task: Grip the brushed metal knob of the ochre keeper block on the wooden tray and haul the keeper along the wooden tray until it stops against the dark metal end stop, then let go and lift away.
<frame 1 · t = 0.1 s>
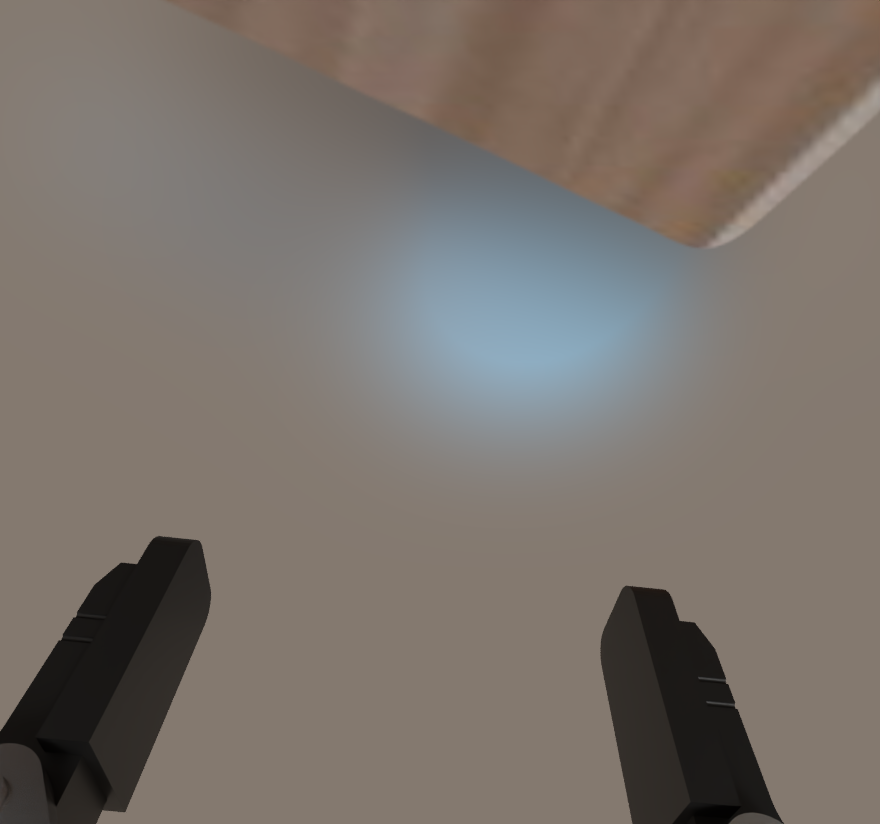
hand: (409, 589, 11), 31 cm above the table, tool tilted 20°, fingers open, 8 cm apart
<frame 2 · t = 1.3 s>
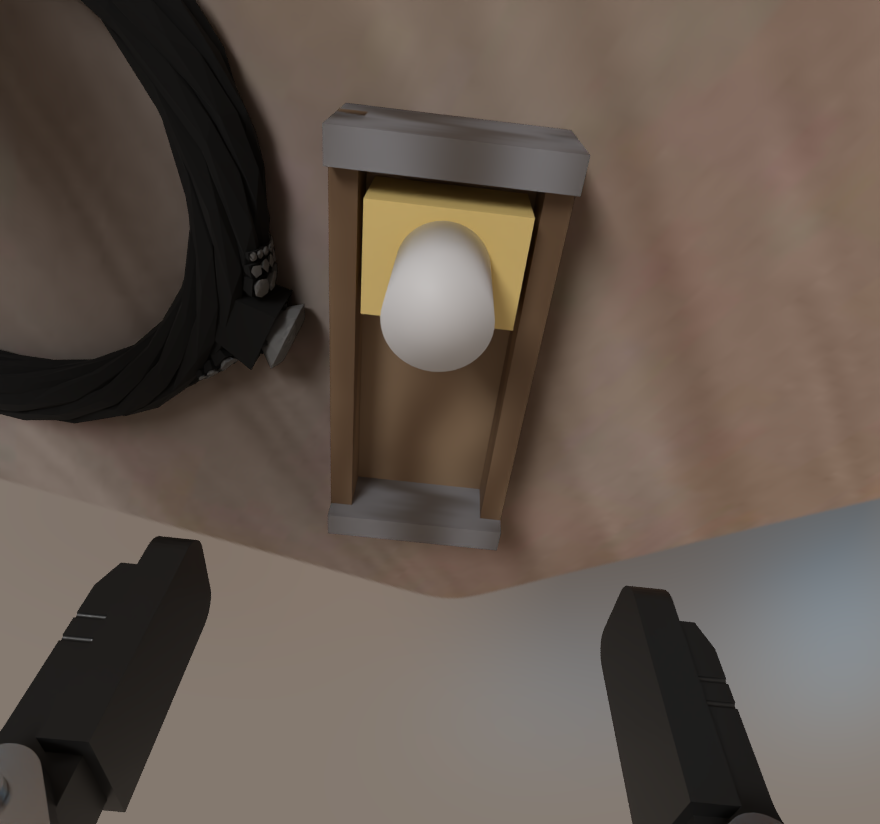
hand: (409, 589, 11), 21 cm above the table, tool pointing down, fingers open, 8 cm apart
keeper: (442, 275, 24), point 6 cm above the table, slide at 0.0 cm
wooden tray: (434, 337, 32), on the table
cable lock: (21, 175, 29), on the table
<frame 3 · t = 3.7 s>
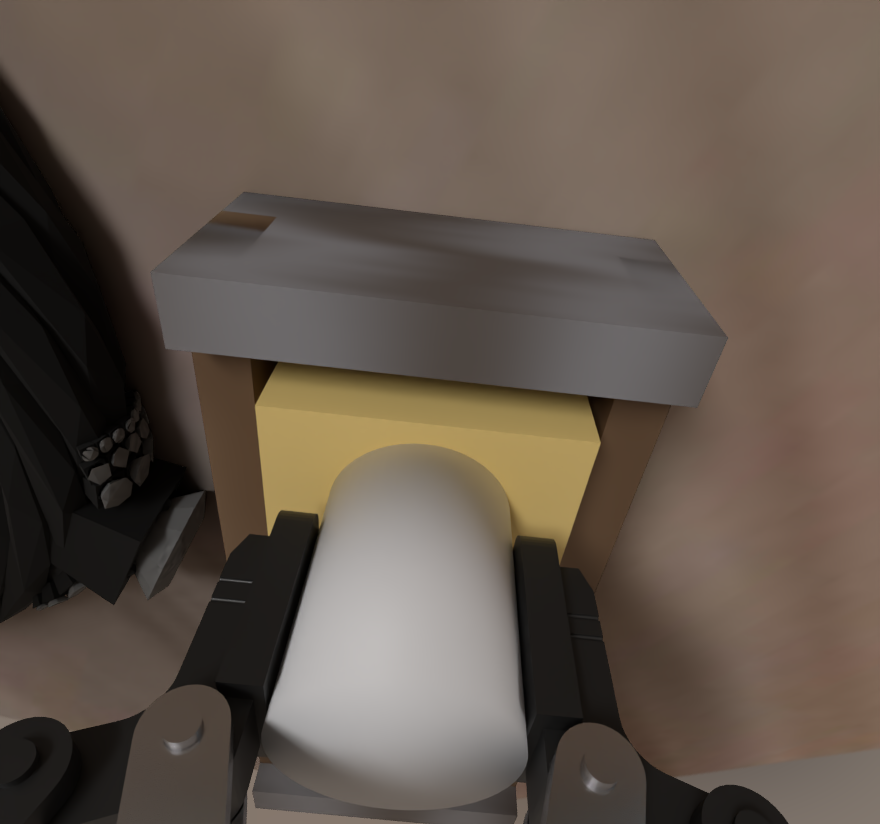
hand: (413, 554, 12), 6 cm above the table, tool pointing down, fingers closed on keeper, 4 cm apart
keeper: (416, 540, 12), point 6 cm above the table, slide at 0.0 cm, touching gripper
wooden tray: (415, 530, 20), on the table
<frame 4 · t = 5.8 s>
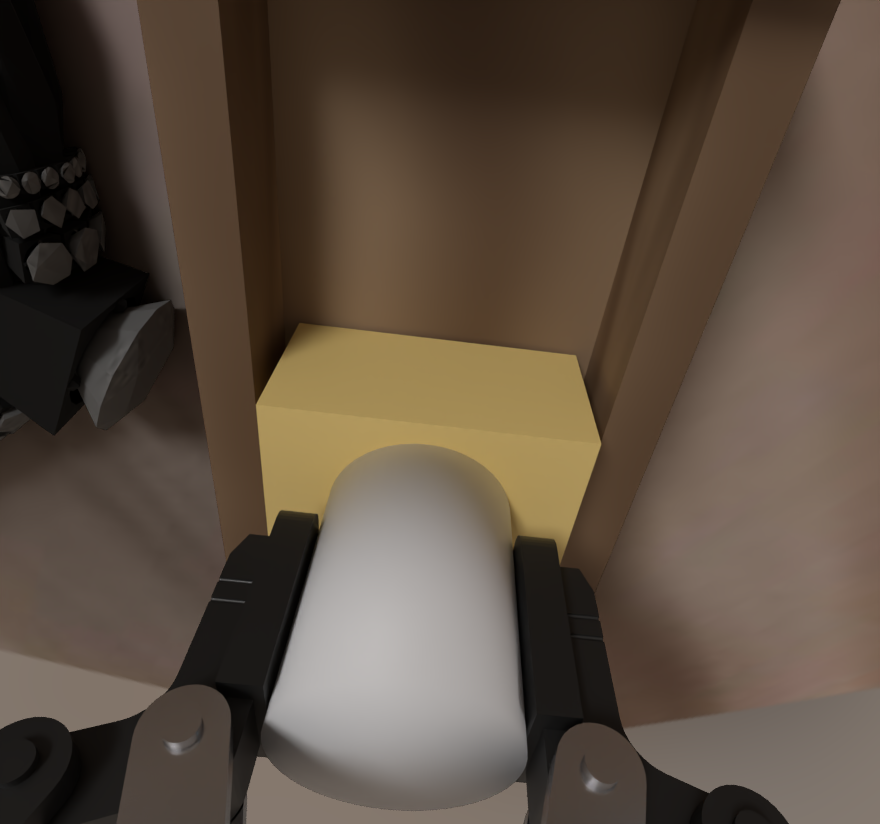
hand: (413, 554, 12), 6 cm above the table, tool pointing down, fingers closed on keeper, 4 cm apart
keeper: (416, 540, 12), point 6 cm above the table, slide at 6.8 cm, touching gripper
wooden tray: (434, 366, 17), on the table
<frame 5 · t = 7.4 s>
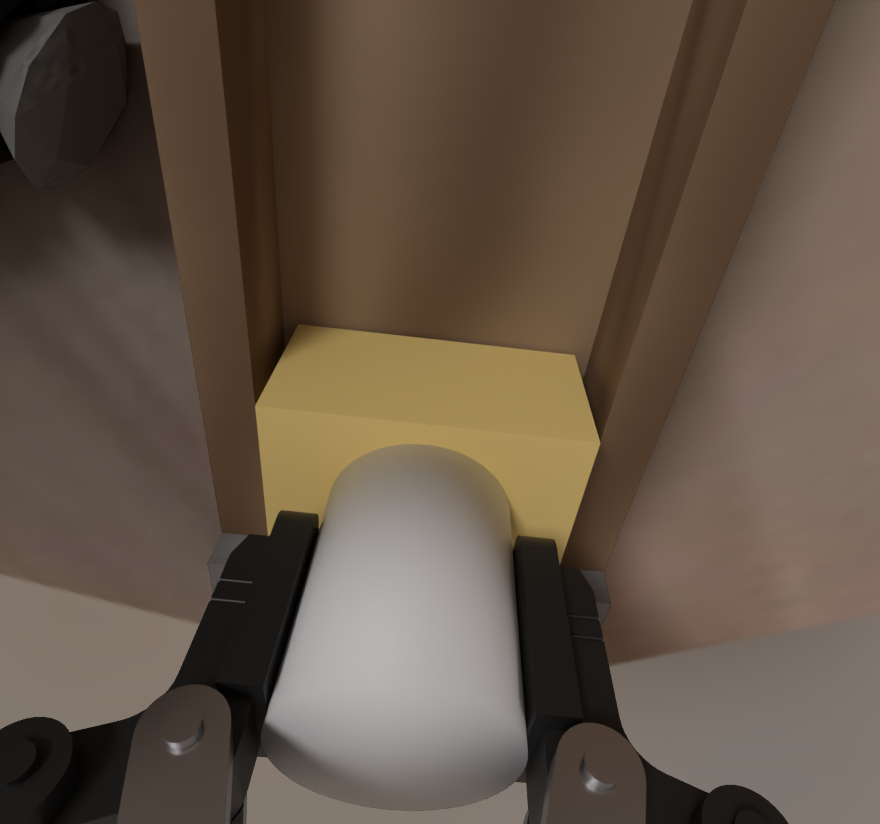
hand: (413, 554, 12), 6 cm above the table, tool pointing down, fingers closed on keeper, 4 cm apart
keeper: (416, 540, 12), point 6 cm above the table, slide at 13.0 cm, touching gripper, wooden tray
wooden tray: (460, 127, 13), on the table
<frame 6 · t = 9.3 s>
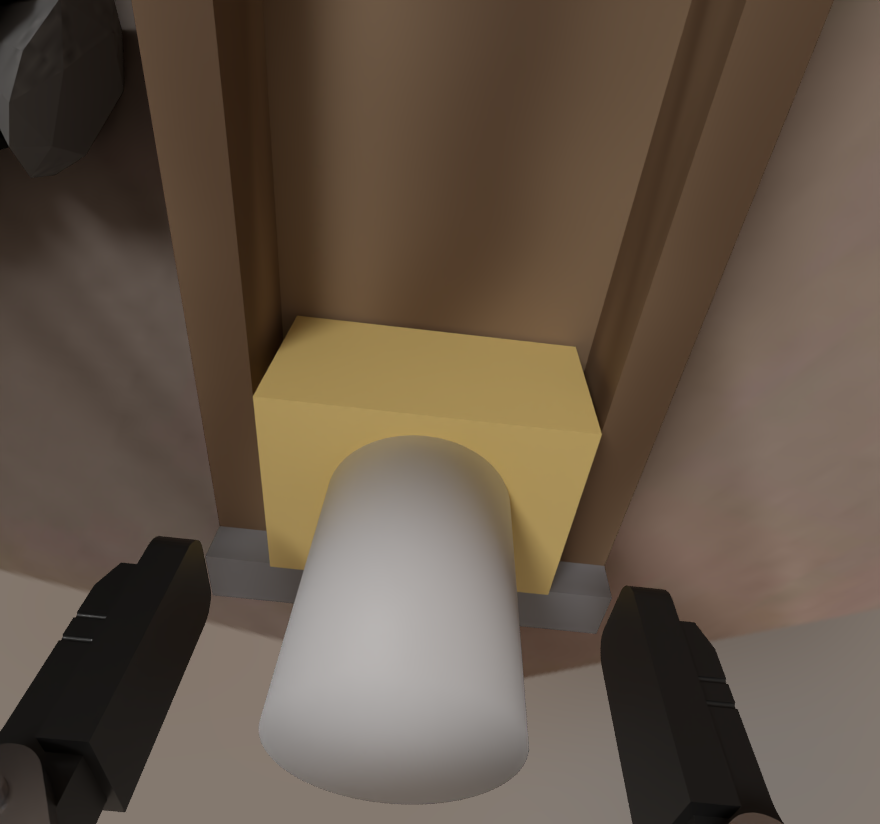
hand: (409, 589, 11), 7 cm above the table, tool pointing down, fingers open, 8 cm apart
keeper: (415, 533, 12), point 6 cm above the table, slide at 13.0 cm, touching wooden tray
wooden tray: (461, 115, 13), on the table
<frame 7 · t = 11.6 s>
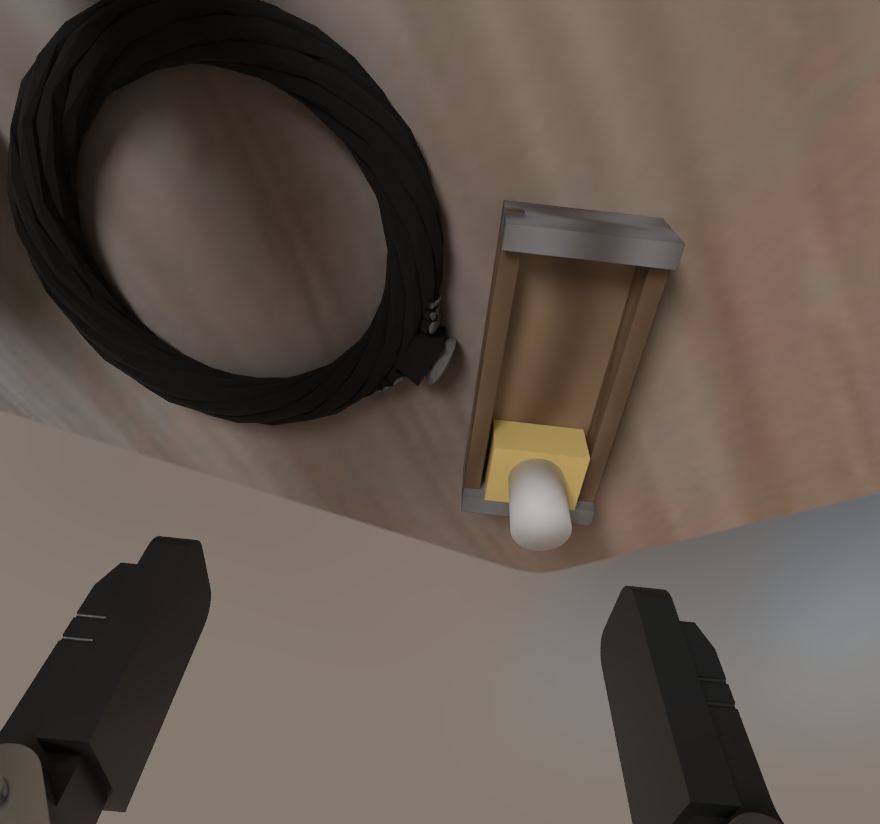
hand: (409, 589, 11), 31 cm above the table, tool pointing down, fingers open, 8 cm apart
keeper: (536, 486, 42), point 6 cm above the table, slide at 13.0 cm, touching wooden tray
wooden tray: (548, 362, 43), on the table
cable lock: (260, 246, 40), on the table
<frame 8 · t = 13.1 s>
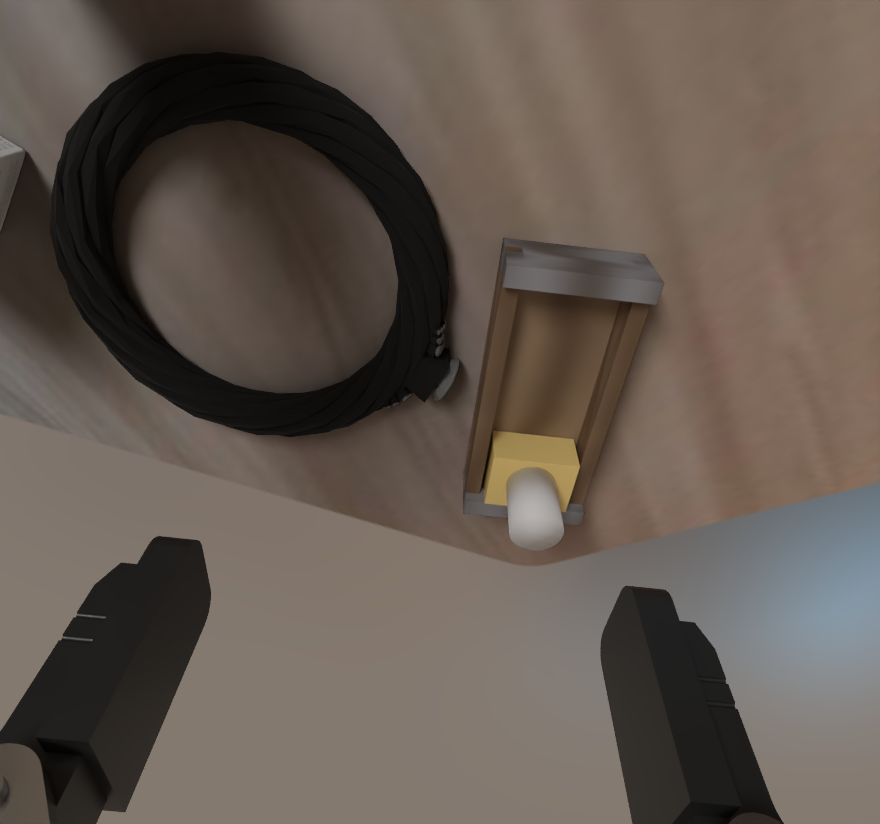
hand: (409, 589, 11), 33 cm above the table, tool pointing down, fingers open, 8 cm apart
keeper: (531, 492, 46), point 6 cm above the table, slide at 13.0 cm, touching wooden tray
wooden tray: (542, 378, 47), on the table
cable lock: (279, 276, 44), on the table
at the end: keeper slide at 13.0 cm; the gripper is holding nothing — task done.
